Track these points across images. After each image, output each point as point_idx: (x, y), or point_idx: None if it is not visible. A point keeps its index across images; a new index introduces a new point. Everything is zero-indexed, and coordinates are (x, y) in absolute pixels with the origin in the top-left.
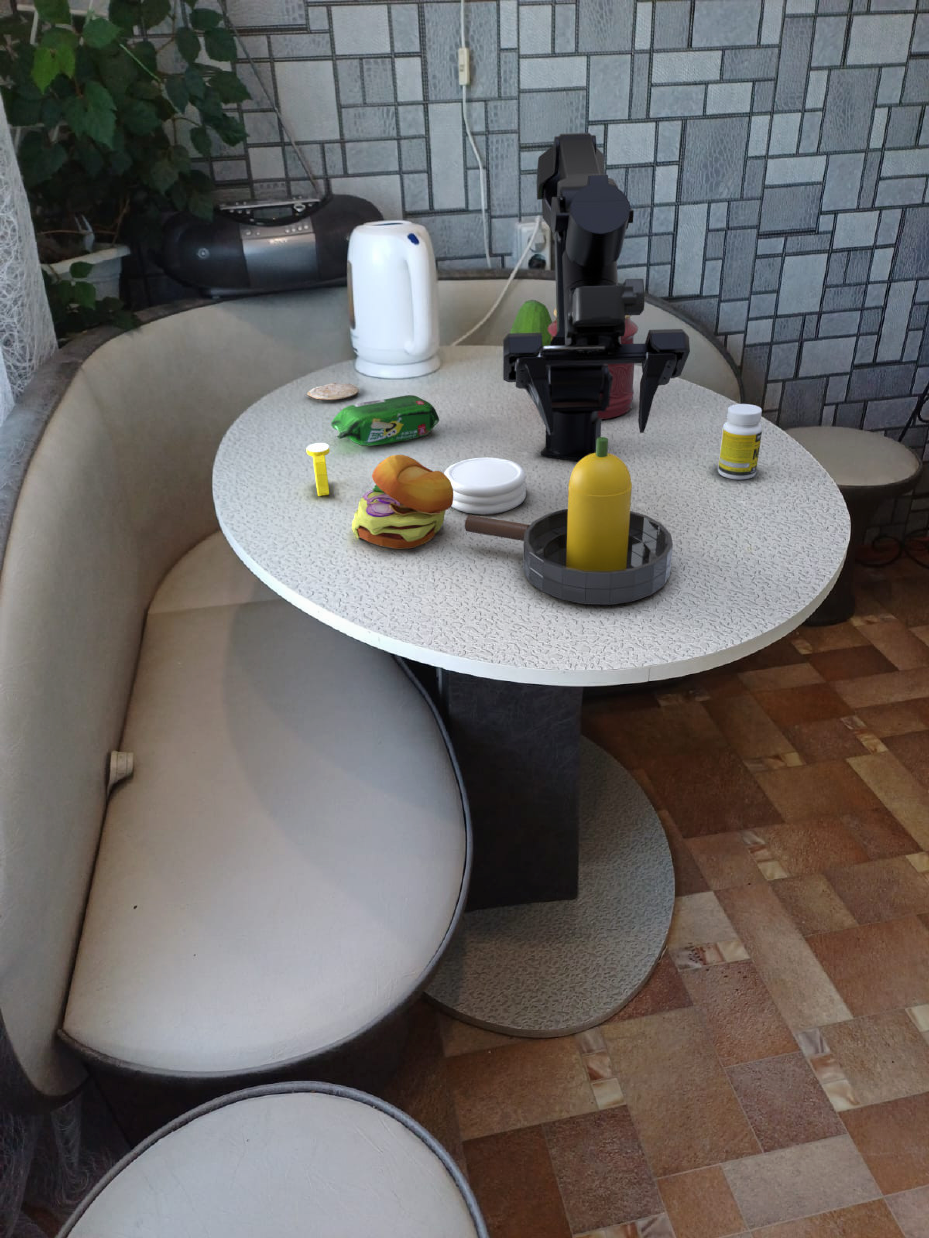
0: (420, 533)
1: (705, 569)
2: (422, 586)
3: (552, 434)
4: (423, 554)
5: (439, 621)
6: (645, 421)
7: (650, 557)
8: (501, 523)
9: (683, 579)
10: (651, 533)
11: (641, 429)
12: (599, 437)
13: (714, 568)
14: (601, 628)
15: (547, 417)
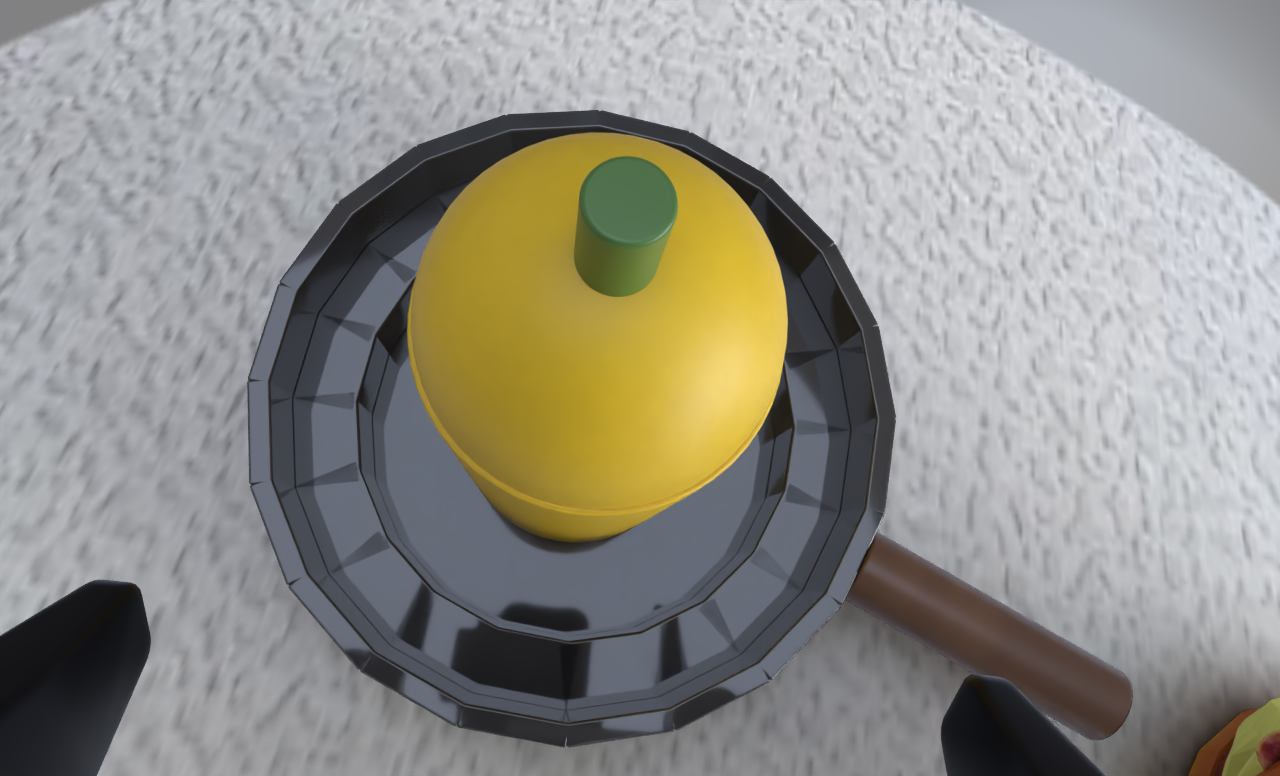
0: (1267, 711)
1: (154, 382)
2: (1172, 430)
3: (950, 713)
4: (1192, 672)
5: (1104, 214)
6: (44, 622)
7: (373, 352)
8: (980, 608)
9: None
10: (303, 520)
11: (135, 589)
12: (648, 230)
13: (115, 384)
14: (639, 90)
15: (1089, 772)
